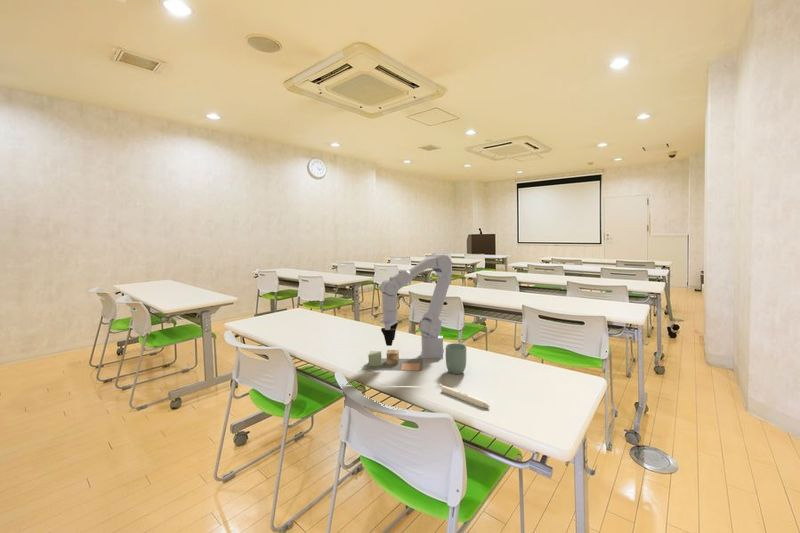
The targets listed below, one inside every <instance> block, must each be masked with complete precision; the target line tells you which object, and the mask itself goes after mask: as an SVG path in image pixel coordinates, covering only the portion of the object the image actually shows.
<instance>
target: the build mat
mask: <svg viewBox="0 0 800 533" xmlns="http://www.w3.org/2000/svg"><path fill="white" fill-rule="evenodd" d="M381 360H382V362H381V365H380V366H369V362H368V363H367V365H366V367H365V369H364V370H365V371H402V372H406V371H407V372H408V371H409V372H411V371H412V372H419V371H420V372H421V371H422V372H423V362H424V361H423V360H424V358H399V362H398V364H387V357H386V358H385V357H384V358H383V357H381Z"/></svg>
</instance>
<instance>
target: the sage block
mask: <svg viewBox="0 0 800 533" xmlns="http://www.w3.org/2000/svg"><path fill="white" fill-rule="evenodd" d="M367 356H368V363H369V366H380V365H381V362H382V360H381V358H382V351H381V350H380V351H379V350H375V351H374V350H370V351H369V353H368V355H367Z"/></svg>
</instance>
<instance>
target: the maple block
mask: <svg viewBox="0 0 800 533" xmlns="http://www.w3.org/2000/svg"><path fill="white" fill-rule="evenodd" d="M386 351H387V352H386V358H387V364H398V362H399V359H400V349H387V350H386Z"/></svg>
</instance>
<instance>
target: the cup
mask: <svg viewBox="0 0 800 533" xmlns="http://www.w3.org/2000/svg"><path fill="white" fill-rule="evenodd" d="M445 366H446V369H447V371H448V372H449V373H450V374H453V375H460V374H463V373H464V372H465V370H466V368H467V346H466V345H465V344H463V343H456V342H455V343H448V344H446V346H445Z"/></svg>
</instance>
